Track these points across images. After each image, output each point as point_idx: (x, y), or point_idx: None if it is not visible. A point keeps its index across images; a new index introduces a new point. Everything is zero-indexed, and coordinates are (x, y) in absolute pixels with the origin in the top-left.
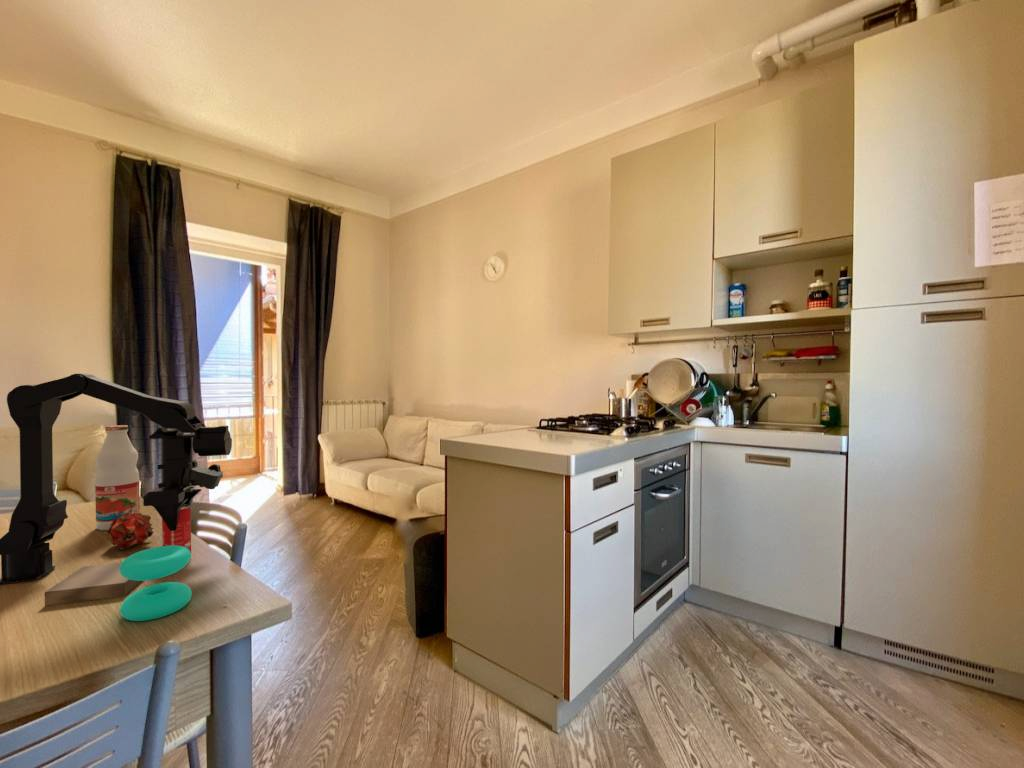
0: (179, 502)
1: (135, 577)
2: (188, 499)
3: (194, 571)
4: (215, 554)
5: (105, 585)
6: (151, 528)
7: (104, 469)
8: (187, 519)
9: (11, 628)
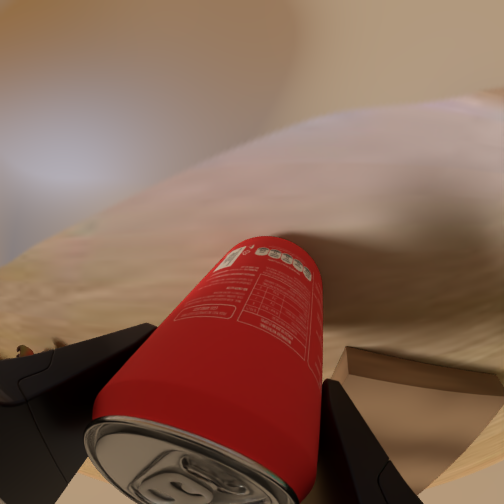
0: None
1: None
2: (20, 419)
3: (454, 216)
4: (279, 134)
5: (483, 428)
6: (22, 351)
7: None
8: (278, 354)
9: (470, 472)
